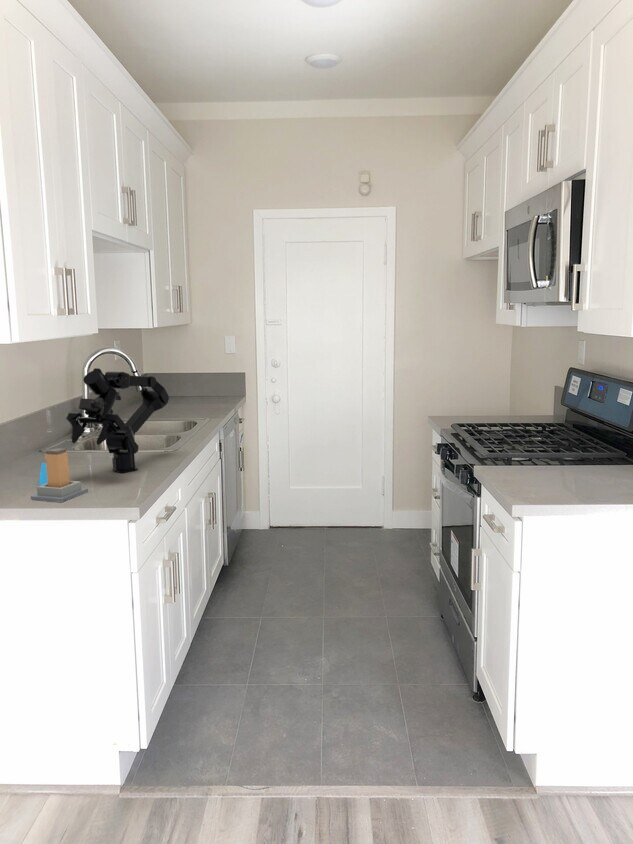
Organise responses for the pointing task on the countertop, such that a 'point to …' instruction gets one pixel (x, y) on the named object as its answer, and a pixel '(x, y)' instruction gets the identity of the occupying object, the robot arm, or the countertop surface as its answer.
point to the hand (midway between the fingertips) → (85, 443)
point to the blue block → (43, 475)
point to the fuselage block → (57, 467)
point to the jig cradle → (59, 492)
